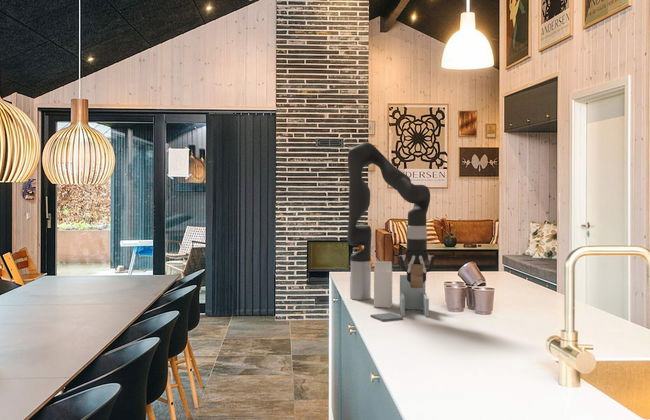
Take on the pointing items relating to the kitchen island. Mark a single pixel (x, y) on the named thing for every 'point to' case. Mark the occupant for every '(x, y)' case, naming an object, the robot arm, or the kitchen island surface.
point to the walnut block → (416, 276)
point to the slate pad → (386, 317)
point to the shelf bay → (412, 297)
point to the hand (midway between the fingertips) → (416, 282)
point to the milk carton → (383, 284)
